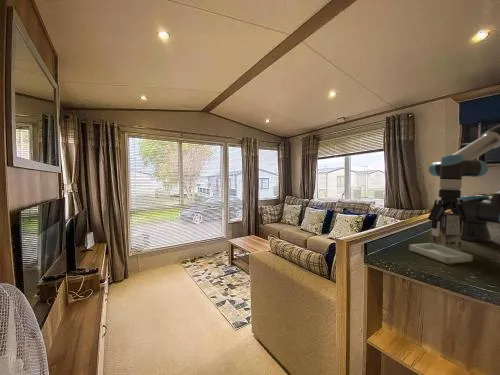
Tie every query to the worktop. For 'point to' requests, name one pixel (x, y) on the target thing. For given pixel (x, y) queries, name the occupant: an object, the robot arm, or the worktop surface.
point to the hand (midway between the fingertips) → (446, 235)
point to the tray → (441, 253)
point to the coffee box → (450, 231)
